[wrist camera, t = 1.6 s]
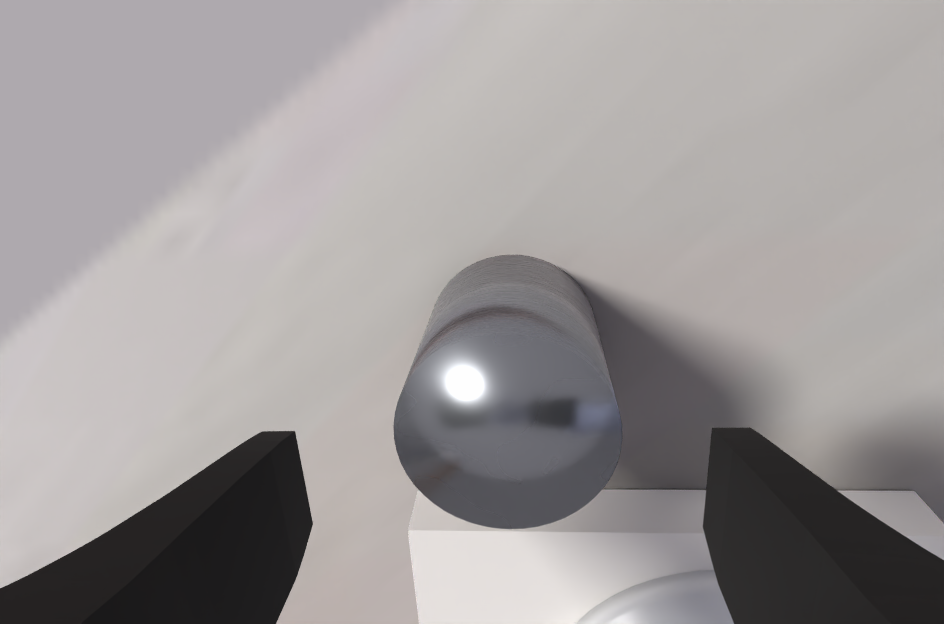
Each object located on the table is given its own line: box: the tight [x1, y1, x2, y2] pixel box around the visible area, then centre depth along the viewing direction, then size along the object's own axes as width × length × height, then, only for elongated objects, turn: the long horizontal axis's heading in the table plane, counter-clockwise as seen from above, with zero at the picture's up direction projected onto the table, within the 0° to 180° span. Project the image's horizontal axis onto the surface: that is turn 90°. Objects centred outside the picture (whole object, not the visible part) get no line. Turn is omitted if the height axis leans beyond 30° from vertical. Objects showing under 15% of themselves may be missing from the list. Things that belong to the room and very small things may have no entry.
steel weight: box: [394, 255, 622, 529], centre depth 14 cm, size 4×4×5 cm
